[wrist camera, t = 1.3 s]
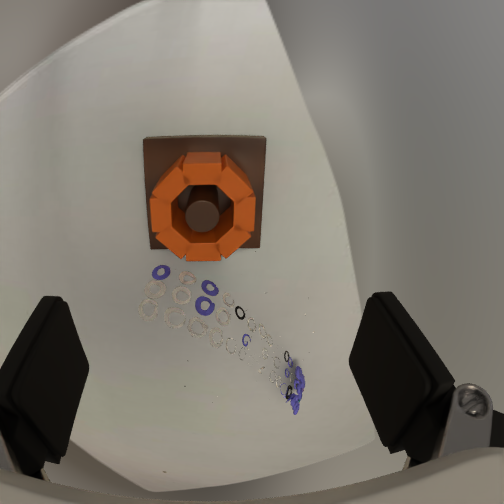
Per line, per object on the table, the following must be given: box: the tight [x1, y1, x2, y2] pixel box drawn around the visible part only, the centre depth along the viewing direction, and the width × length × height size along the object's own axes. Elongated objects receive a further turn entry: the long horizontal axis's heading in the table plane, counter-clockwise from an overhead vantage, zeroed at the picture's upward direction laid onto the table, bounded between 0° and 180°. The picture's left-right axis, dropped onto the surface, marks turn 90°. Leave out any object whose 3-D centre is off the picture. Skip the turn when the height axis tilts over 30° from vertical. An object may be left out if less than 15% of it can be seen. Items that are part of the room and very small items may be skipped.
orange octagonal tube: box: [150, 152, 256, 261], centre depth 22 cm, size 7×7×4 cm
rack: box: [143, 135, 266, 249], centre depth 23 cm, size 9×9×6 cm
